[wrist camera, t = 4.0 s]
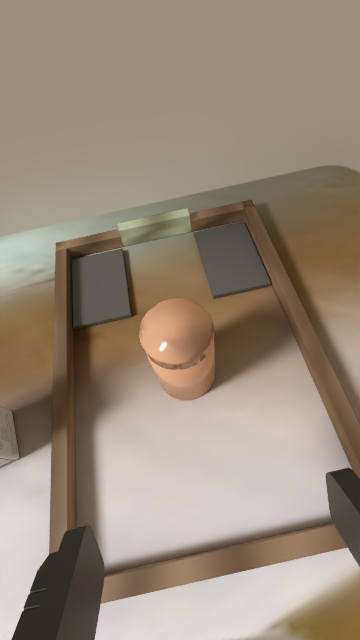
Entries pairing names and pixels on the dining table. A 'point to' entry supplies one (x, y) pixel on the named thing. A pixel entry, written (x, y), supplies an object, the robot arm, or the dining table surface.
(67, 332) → the box
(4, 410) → the medicine box
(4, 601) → the dining table surface
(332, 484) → the robot arm
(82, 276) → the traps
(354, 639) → the dining table surface
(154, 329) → the terracotta jar
